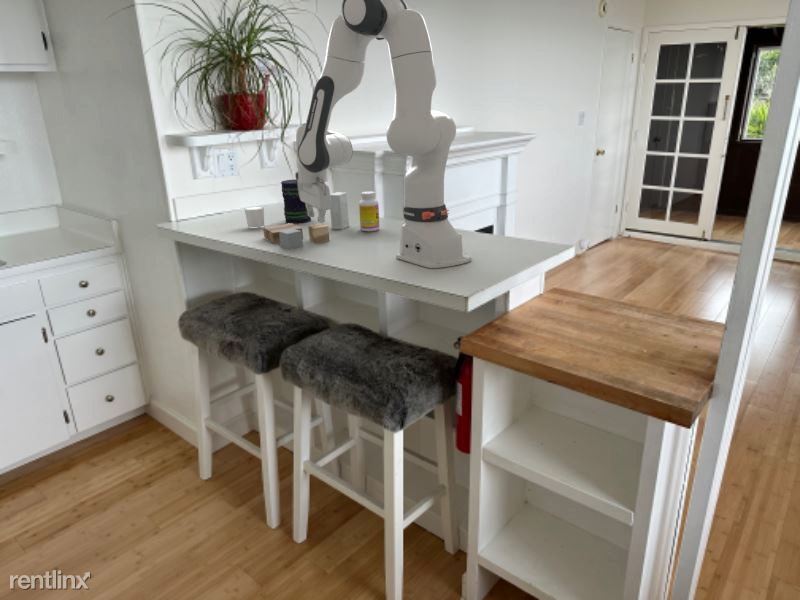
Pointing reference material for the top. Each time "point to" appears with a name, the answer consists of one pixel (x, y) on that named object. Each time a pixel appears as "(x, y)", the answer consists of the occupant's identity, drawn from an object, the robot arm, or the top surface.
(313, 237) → the oak cube
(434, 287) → the top surface
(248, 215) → the shot glass
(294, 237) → the grey cube
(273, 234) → the walnut block
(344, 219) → the skincare box
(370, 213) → the supplement bottle
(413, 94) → the robot arm
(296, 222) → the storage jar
